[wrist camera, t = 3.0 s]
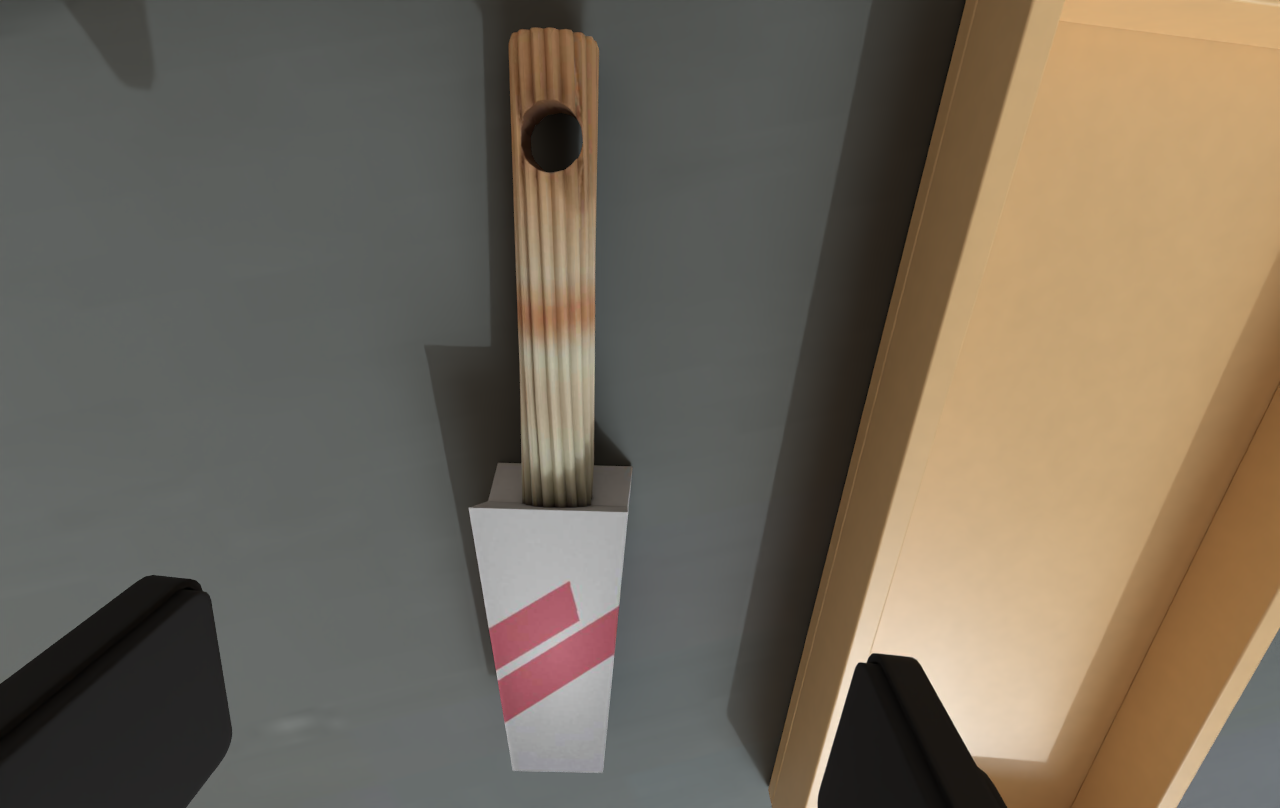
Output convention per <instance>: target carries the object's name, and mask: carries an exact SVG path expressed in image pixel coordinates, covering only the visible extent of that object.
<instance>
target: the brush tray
mask: <svg viewBox="0 0 1280 808" xmlns="http://www.w3.org/2000/svg"><path fill="white" fill-rule="evenodd" d="M1279 628H1280V0H966V3H965V7H964V11H963V15H962V19H961V23H960V27H959V31H958V35H957V39H956V43H955V47H954V51H953V55H952V59H951V63H950V67H949V71H948V75H947V79H946V83H945V87H944V91H943V95H942V99H941V103H940V107H939V111H938V115H937V119H936V123H935V127H934V131H933V135H932V139H931V142H930V146H929V150H928V154H927V158H926V162H925V166H924V170H923V174H922V178H921V182H920V186H919V190H918V194H917V198H916V202H915V206H914V210H913V214H912V218H911V222H910V226H909V230H908V234H907V238H906V242H905V246H904V250H903V254H902V258H901V262H900V266H899V270H898V274H897V278H896V282H895V286H894V290H893V294H892V298H891V302H890V306H889V310H888V314H887V318H886V322H885V326H884V330H883V334H882V338H881V342H880V346H879V350H878V354H877V358H876V362H875V366H874V370H873V374H872V378H871V382H870V386H869V390H868V394H867V398H866V402H865V406H864V410H863V414H862V418H861V422H860V426H859V430H858V434H857V438H856V442H855V446H854V450H853V454H852V458H851V462H850V466H849V470H848V474H847V478H846V482H845V486H844V490H843V494H842V498H841V502H840V506H839V510H838V514H837V518H836V522H835V526H834V530H833V534H832V538H831V542H830V546H829V550H828V554H827V558H826V562H825V566H824V570H823V574H822V578H821V582H820V586H819V590H818V594H817V598H816V602H815V606H814V610H813V613H812V617H811V621H810V625H809V629H808V633H807V637H806V641H805V645H804V649H803V653H802V657H801V661H800V665H799V669H798V673H797V677H796V681H795V685H794V689H793V693H792V697H791V701H790V705H789V709H788V713H787V717H786V721H785V725H784V729H783V733H782V737H781V741H780V745H779V749H778V753H777V757H776V761H775V765H774V769H773V773H772V777H771V781H770V785H769V789H768V790H769V795H770V800H771V803H772V808H818V805H817V802H818V793H819V789H820V786H821V782H822V779H823V776H824V772H825V769H826V765H827V762H828V758H829V755H830V752H831V748H832V745H833V741H834V738H835V735H836V731H837V728H838V724H839V721H840V718H841V714H842V711H843V707H844V704H845V700H846V697H847V694H848V690H849V687H850V683H851V680H852V677H853V673H854V670H855V667H856V665H857V664H858V663H860V662H863V663H866V662H867V660H868V658H869V656H870V655H871V654H873V653H879V654H888V655H898V656H907V657H913V658H915V659H916V660H917V661H918V662H919V663H920V665H921V666H922V668H923V670H924V672H925V674H926V675H927V677H928V679H929V681H930V683H931V684H932V686H933V688H934V690H935V691H936V693H937V695H938V697H939V699H940V700H941V702H942V704H943V706H944V708H945V709H946V711H947V713H948V715H949V717H950V718H951V720H952V722H953V724H954V726H955V727H956V729H957V731H958V733H959V735H960V736H961V738H962V740H963V742H964V743H965V745H966V747H967V749H968V751H969V752H970V754H971V756H972V758H973V760H974V761H975V763H976V765H977V767H979V768H980V769H981V770H983V771H984V772H985V773H986V774H987V775H988V777H989V778H990V779H991V781H992V782H993V784H994V785H995V786H996V788H997V790H998V792H999V794H1000V795H1001V797H1002V799H1003V801H1004V802H1005V804H1006V806H1007V808H1176V807H1177V805H1178V804H1179V802H1180V800H1181V799H1182V797H1183V795H1184V793H1185V792H1186V790H1187V788H1188V786H1189V785H1190V783H1191V781H1192V779H1193V778H1194V776H1195V774H1196V772H1197V771H1198V769H1199V767H1200V765H1201V764H1202V762H1203V760H1204V759H1205V757H1206V755H1207V753H1208V752H1209V750H1210V748H1211V746H1212V745H1213V743H1214V741H1215V739H1216V738H1217V736H1218V734H1219V732H1220V731H1221V729H1222V727H1223V725H1224V724H1225V722H1226V720H1227V719H1228V717H1229V715H1230V713H1231V712H1232V710H1233V708H1234V706H1235V705H1236V703H1237V701H1238V699H1239V698H1240V696H1241V694H1242V692H1243V691H1244V689H1245V687H1246V685H1247V684H1248V682H1249V680H1250V678H1251V677H1252V675H1253V673H1254V672H1255V670H1256V668H1257V666H1258V665H1259V663H1260V661H1261V659H1262V658H1263V656H1264V654H1265V652H1266V651H1267V649H1268V647H1269V645H1270V644H1271V642H1272V640H1273V638H1274V637H1275V635H1276V633H1277V632H1278V630H1279Z"/></svg>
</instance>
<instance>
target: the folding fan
mask: <svg viewBox="0 0 1280 808" xmlns="http://www.w3.org/2000/svg"><path fill="white" fill-rule="evenodd" d="M509 72H510V103H511V134H512V164H513V195H514V226H515V257H516V284H517V311H518V338H519V364H520V407H521V461H522V463H498V464H497V468H496V472H495V476H494V480H493V484H492V488H491V492H490V495H489V499H488V501H487V502H484V503H481V504H478V505H475V506H472V507H469V513H470V519H471V525H472V531H473V537H474V543H475V549H476V555H477V561H478V567H479V573H480V579H481V584H482V590H483V596H484V602H485V608H486V614H487V620H488V626H489V632H490V638H491V644H492V650H493V656H494V662H495V668H496V673H497V679H498V685H499V691H500V697H501V703H502V709H503V715H504V721H505V727H506V733H507V739H508V745H509V751H510V756H511V762H512V768H513V771H539V772H582V773H603V765H604V755H605V744H606V734H607V724H608V714H609V703H610V693H611V683H612V673H613V662H614V652H615V642H616V632H617V622H618V611H619V601H620V591H621V581H622V570H623V560H624V550H625V540H626V529H627V519H628V509H629V499H630V489H631V478H632V468H633V467H632V466H596V465H594V390H595V246H596V190H597V134H598V78H599V48H598V46H597V43H596V41H594V40H593V38H592V37H590V36H584V34H583V33H581V32H572V30H568V29H561V30H558V29H555V28H550V27H548V28H545V29H542V28H531V29H530V30H525V29H520V30H519V31H518V32H514V33H512V35H511V38H510V41H509ZM558 113H564V114H567V115H570V116H573V117H575V118H576V119H577V120H578V121H579V123H580V126H581V128H582V137H583V145H582V149H581V153H580V155H579V157H578V159H576V160H575V161H574V162H573V164H572V165H571V166H569V167H568V168H566V169H565V170H562V171H558V172H553V173H547V172H545V171H544V170H543V169H542V168H541V167H540V166H539V165H538V164H537V163H536V162H535V160H534V157H533V155H532V153H531V134H532V132H533V130H534V127H535V125H537V124H539V123H540V122H541V121H542V119H543V118H545V117H546V116H548V115H552V114H558Z"/></svg>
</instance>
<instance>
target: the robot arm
mask: <svg viewBox="0 0 1280 808" xmlns="http://www.w3.org/2000/svg"><path fill="white" fill-rule="evenodd" d="M231 738H232V727H231V720H230V714H229V708H228V702H227V696H226V690H225V683H224V677H223V671H222V665H221V659H220V653H219V646H218V640H217V634H216V628H215V622H214V616H213V610H212V603H211V599H210V596H209V595H208V594H207V593H206V592H203V591H202V588H201V585H200V584H199V583H198V582H197V581H196V580H192V579H184V578H175V577H166V576H156V575H151V576H146V577H144V578H142V579H141V580H139V581H137V582H136V583H135V584H133V585H132V586H131V587H129V588H128V589H127V590H125V591H124V592H123V593H121V594H120V595H119V596H117V597H116V598H115V599H113V600H112V601H111V602H109V603H108V604H107V605H105V606H104V607H103V608H101V609H100V610H99V611H97V612H96V613H95V614H93V615H92V616H91V617H89V618H88V619H87V620H85V621H84V622H83V623H81V624H80V625H79V626H77V627H76V628H75V629H73V630H72V631H71V632H69V633H68V634H67V635H65V636H64V637H63V638H61V639H60V640H59V641H57V642H56V643H54V644H53V645H52V646H50V647H49V648H48V649H46V650H45V651H44V652H42V653H41V654H40V655H38V656H37V657H36V658H34V659H33V660H32V661H30V662H29V663H28V664H26V665H25V666H24V667H22V668H21V669H20V670H18V671H17V672H16V673H14V674H13V675H12V676H10V677H9V678H8V679H6V680H5V681H4V682H2V683H1V684H0V808H186V807H187V806H188V804H189V803H190V802H191V800H192V799H193V798H194V796H195V795H196V794H197V792H198V791H199V790H200V789H201V787H202V786H203V785H204V783H205V782H206V781H207V779H208V778H209V777H210V775H211V774H212V773H213V772H214V770H215V769H216V768H217V766H218V765H219V764H220V762H221V761H222V759H223V758H224V756H225V755H226V753H227V750H228V748H229V745H230V742H231ZM817 805H818V808H1007V806H1006V804H1005V802H1004V801H1003V799H1002V797H1001V795H1000V794H999V792H998V790H997V788H996V786H995V785H994V784H993V782H992V781H991V779H990V778H989V777H988V775H987V774H986V773H985V772H984V771H983V770H981V769H980V768H979V767H977V765H976V763H975V761H974V760H973V758H972V756H971V754H970V752H969V751H968V749H967V747H966V745H965V743H964V742H963V740H962V738H961V736H960V735H959V733H958V731H957V729H956V727H955V726H954V724H953V722H952V720H951V718H950V717H949V715H948V713H947V711H946V709H945V708H944V706H943V704H942V702H941V700H940V699H939V697H938V695H937V693H936V691H935V690H934V688H933V686H932V684H931V683H930V681H929V679H928V677H927V675H926V674H925V672H924V670H923V668H922V666H921V665H920V663H919V662H918V661H917V660H916V659H915V658H913V657H907V656H898V655H888V654H879V653H873V654H871V655H870V656H869V658H868V660H867V662H866V663H863V662H860V663H858V664H857V665H856V667H855V670H854V673H853V677H852V680H851V683H850V687H849V690H848V694H847V697H846V700H845V704H844V707H843V711H842V714H841V718H840V721H839V724H838V728H837V731H836V735H835V738H834V741H833V745H832V748H831V752H830V755H829V758H828V762H827V765H826V769H825V772H824V776H823V779H822V782H821V786H820V789H819V793H818V802H817Z"/></svg>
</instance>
